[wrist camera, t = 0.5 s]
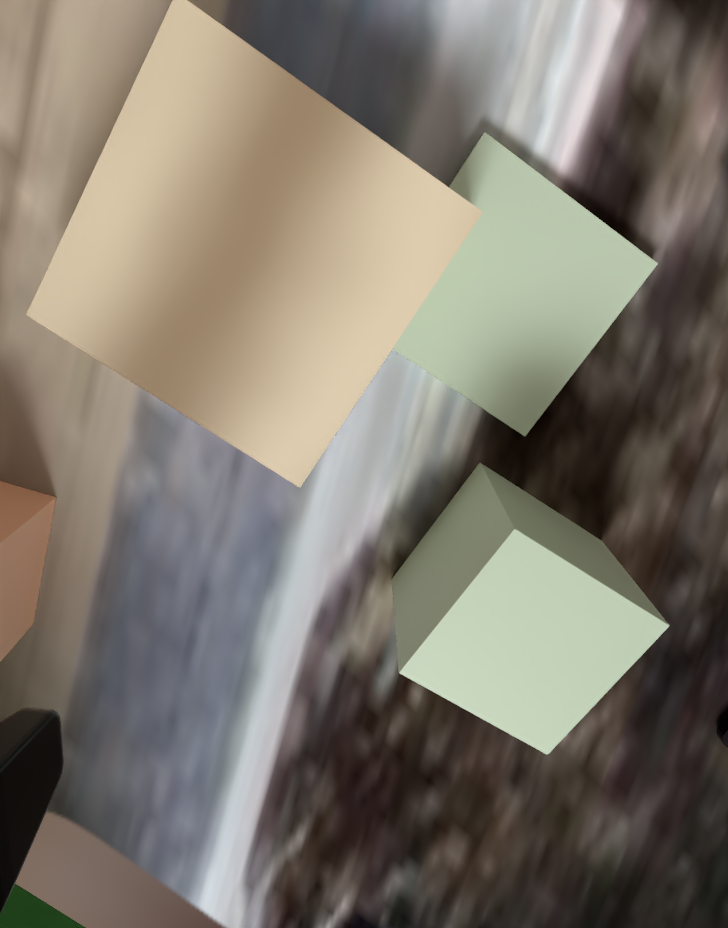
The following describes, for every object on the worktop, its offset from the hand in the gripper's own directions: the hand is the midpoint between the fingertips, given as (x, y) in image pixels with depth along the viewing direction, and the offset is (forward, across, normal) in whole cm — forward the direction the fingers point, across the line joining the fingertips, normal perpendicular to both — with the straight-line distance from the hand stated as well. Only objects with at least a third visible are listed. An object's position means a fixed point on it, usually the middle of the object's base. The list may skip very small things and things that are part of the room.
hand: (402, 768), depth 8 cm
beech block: (+12, +4, -6) cm, 14 cm away
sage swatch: (+12, -3, -6) cm, 14 cm away
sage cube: (+13, -4, +3) cm, 14 cm away
